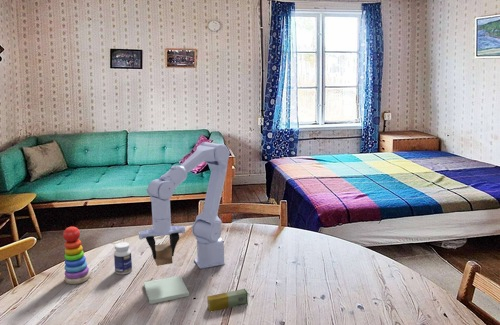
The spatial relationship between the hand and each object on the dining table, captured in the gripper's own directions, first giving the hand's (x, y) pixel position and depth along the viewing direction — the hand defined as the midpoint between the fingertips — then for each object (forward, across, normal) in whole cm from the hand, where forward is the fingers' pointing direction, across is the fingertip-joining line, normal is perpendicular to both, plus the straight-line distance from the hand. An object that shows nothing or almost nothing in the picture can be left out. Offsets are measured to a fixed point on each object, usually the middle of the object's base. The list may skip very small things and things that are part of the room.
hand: (163, 256), depth 134 cm
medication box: (+10, -15, +21) cm, 27 cm away
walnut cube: (+2, 0, 0) cm, 2 cm away
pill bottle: (+10, +12, -14) cm, 21 cm away
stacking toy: (+10, +27, -14) cm, 32 cm away
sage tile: (+10, 0, +5) cm, 11 cm away
